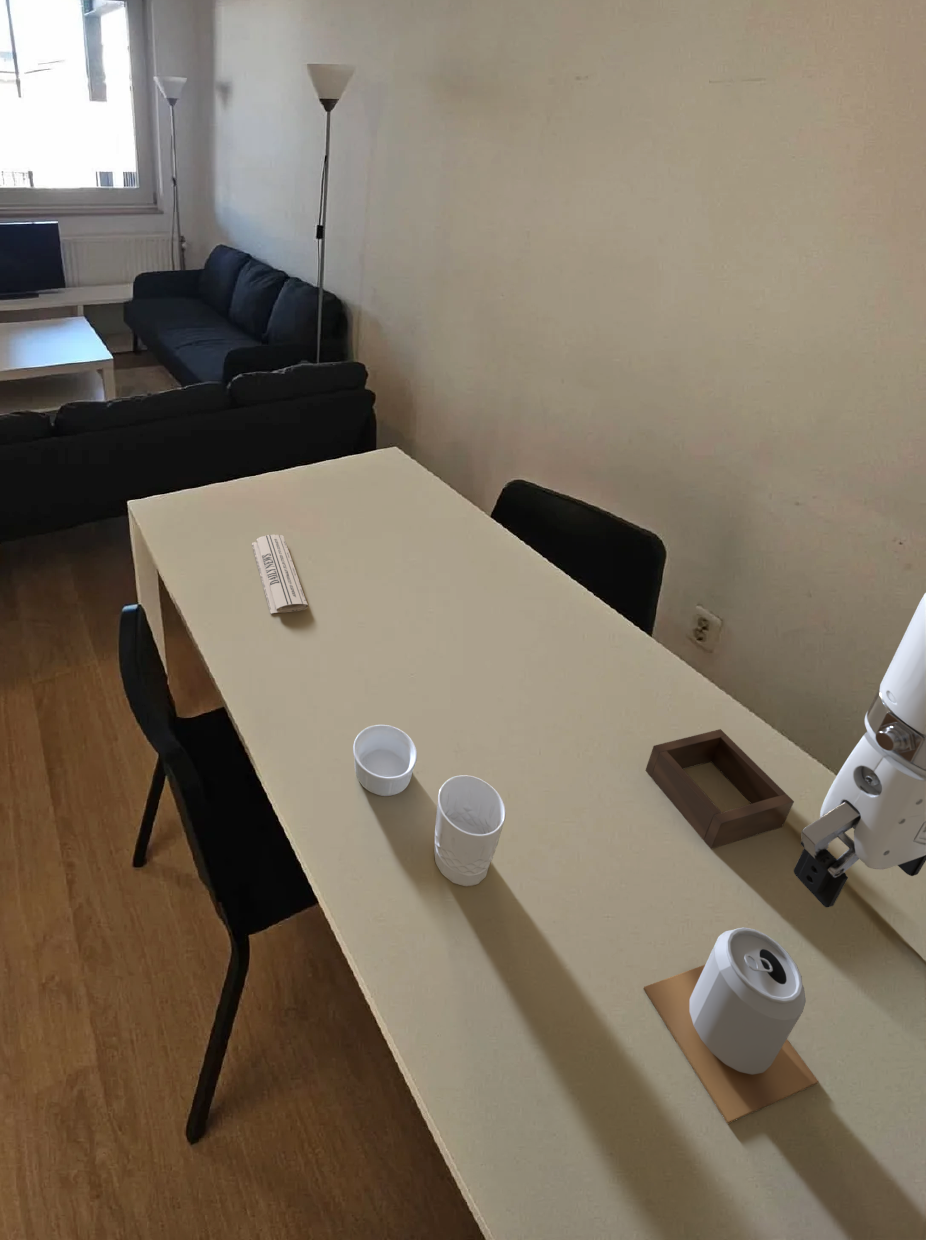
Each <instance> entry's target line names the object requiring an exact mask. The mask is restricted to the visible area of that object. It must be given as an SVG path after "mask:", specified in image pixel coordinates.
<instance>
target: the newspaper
mask: <svg viewBox="0 0 926 1240" xmlns="http://www.w3.org/2000/svg"><path fill="white" fill-rule="evenodd" d="M251 547H252V549H253V554H254V557H255V561H256V566H257V568H258V572H259V576H260V579H261V580H260V581H261V584H262V587H263V591H264V595H265V599H266V602H267V607H268V610H269V614H271V615H273V614H277V613H280V614H281V613H292V612H293V613H294V612H301V611H303V610H306V609H307V608H308V607H309V606H308V605H309V604H308V602H307V599H306V596H305V594H304V590H303V588H302V585H301V581H300V579H299V576H298V573H297V570H296V567H295V565H294V562H293V559H292V557H291V553H290V551H289V548H288V546H287V542H286V539H285V536H284V535H282V534H267V535H262V536H260V537H257V538H256V541H254V542H253V541H252V542H251Z"/></svg>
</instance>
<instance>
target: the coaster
mask: <svg viewBox="0 0 926 1240" xmlns="http://www.w3.org/2000/svg"><path fill="white" fill-rule="evenodd" d="M705 965H706V963H705V964H702V965H700V966H697V967H695V968H691V969H689V970H686V971H683V972H680V973H678V974H675V975H672V976H670V977H667V978H665V979H662V980H659V981H656V982H654V983H651V984H648V985H645V986H643V988H642V989H643V991H644V993H645V994H646V996H647V997H648V998H649V1000H650V1002H651V1004H652V1005H653V1007H654V1008H655V1011H657V1013H658V1015H659V1016H660V1018H661V1020H662V1021H663V1023H664V1025H665V1026H666V1028H667V1029H668V1031H669V1033H670V1034H671V1036H672V1037H673V1039H674V1040H675V1042H676V1044H677V1046H678V1047H679V1048H680V1050H681V1052H682V1054H683V1055H684V1056H685V1058H686V1060H687V1062H688V1063H689V1065H690V1067H691V1068H692V1070H693V1072H694V1073H695V1074H696V1076H697V1077H698V1079H699V1081H700V1082H701V1084H702V1087H704V1089H705V1090H706V1093H707V1094H708V1095H709V1097H710V1099H711V1100H712V1101H713V1103H714V1105H715V1104H716V1105H715V1107H716V1108H717V1109H718V1112H719V1113H720V1115H721V1116H722V1115H723V1116H722V1118H723V1117H724V1118H723V1119H724V1121H725V1122H726V1121H727V1122H726V1124H727V1123H729V1124H731V1123H732V1122H731V1121H733V1122H735V1121H737V1120H736V1119H738V1120H740V1119H742V1118H744V1117H746V1116H749V1115H751V1114H754V1113H755V1112H758V1111H759V1110H762V1109H764V1108H767V1107H768V1106H771V1105H773V1104H775V1103H778V1102H779V1101H782V1100H784V1099H786V1098H788V1097H790V1096H793V1095H795V1094H797V1093H800V1092H802V1091H804V1090H807V1089H808V1088H811V1087H813V1086H815V1085H817V1084H819V1080H818V1079H817V1077H816V1076H815V1074H814V1073H813V1072H812V1071H811V1069H810V1068H809V1067H808V1065H807V1064H806V1062H805V1061H804V1060H803V1058H802V1057H801V1056H800V1054H799V1053H798V1052H797V1050H796V1049H795V1048H794V1047H793V1045H792V1044H791V1043H790V1041H789V1040H788V1038H787V1039H786V1041H785V1043H784V1044H783V1046H782V1048H781V1049H780V1051H779V1053H778V1054H777V1056H776V1058H775V1059H774V1061H773V1063H772V1064H771V1066H770V1067H769V1068H768V1069H767V1070H766V1071H764V1072H763V1073H758V1074H753V1075H752V1074H747V1073H743V1072H739V1071H737V1070H735V1069H733V1068H731V1067H730V1066H728V1065H726V1064H724V1063H723V1062H722V1061H721V1060H720V1059H719V1058H717V1057H716V1056H715V1055H714V1054H713V1053H712V1052H711V1051H710V1050H709V1048H708V1047H707V1046H706V1045H705V1044H704V1042H703V1041H702V1040H701V1038H700V1036H699V1034H698V1033H697V1031H696V1029H695V1027H694V1025H693V1022H692V1018H691V1015H690V997H691V995H692V993H693V990H694V988H695V986H696V984H697V982H698V980H699V977H700V975H701V973H702V971H703V969H704V967H705ZM748 1114H749V1115H748ZM745 1115H746V1116H745ZM743 1116H744V1117H743ZM741 1117H742V1118H741ZM739 1118H740V1119H739ZM734 1120H735V1121H734ZM730 1122H731V1123H730Z"/></svg>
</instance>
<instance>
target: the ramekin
mask: <svg viewBox="0 0 926 1240" xmlns="http://www.w3.org/2000/svg"><path fill="white" fill-rule="evenodd" d="M352 752H353V758H354V772H355V775H356V778H357V780H358V781H359V784H360V785H361V786H362V787H363V788H364V789H365V790H366V791H368V792H370V793H372V794H374V795H377V796H382V797H390V796H395V795H398V794H401V793H402V792H404V791H405V789H406V788H407V787H408V786H409V784H410V782H411V779H412V776H413V772H414V769H415V767H416V764H417V761H418V750H417V748H416V744H415V742H414V740H413V739H412V738H411V737H410V736H409V735H408V734H407V732H405V731H403V730H402V729H400V728H398V727H395V726H393V725H388V724H375V725H374V724H373V725H369V726H367V727H366V728H364V729H362V730H361V731H360V732H359V733H358V734H357V736H356V737H355V739H354V742H353V745H352Z"/></svg>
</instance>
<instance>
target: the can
mask: <svg viewBox="0 0 926 1240" xmlns="http://www.w3.org/2000/svg"><path fill="white" fill-rule="evenodd" d="M714 943H715V944H714V946H713V948H712V949H711V951H710V954H709V956H708V958H707V960H706V963H705V964H706V965H705V964H704V965H705V967H704V969H703V971H702V973H701V975H700V977H699V980H698V982H697V984H696V986H695V988H694V990H693V993H692V995H691V997H690V1015H691V1018H692V1022H693V1025H694V1027H695V1029H696V1031H697V1033H698V1034H699V1036H700V1038H701V1040H702V1041H703V1042H704V1044H705V1045H706V1046H707V1047H708V1048H709V1050H710V1051H711V1052H712V1053H713V1054H714V1055H715V1056H716V1057H717V1058H719V1059H720V1060H721V1061H722V1062H723V1063H724V1064H726V1065H728V1066H730V1067H731V1068H733V1069H735V1070H737V1071H739V1072H743V1073H747V1074H752V1075H753V1074H758V1073H763V1072H764V1071H766V1070H767V1069H768V1068H769V1067H770V1066H771V1064H772V1063H773V1061H774V1059H775V1058H776V1056H777V1054H778V1053H779V1051H780V1049H781V1048H782V1046H783V1044H784V1043H785V1041H786V1039H787V1040H788V1038H789V1036H790V1034H791V1032H792V1031H793V1029H794V1027H795V1026H796V1024H797V1023H798V1021H799V1019H800V1017H801V1016H802V1014H803V1013H804V1010H805V1006H806V1003H807V1000H806V998H807V997H806V992H805V987H804V984H803V978H802V974H801V972H800V969H799V967H798V965H797V963H796V962H795V961H794V959H793V957H792V956H791V955H790V953H788V951H787V950H786V949H785V948H784V947H783V946H782V945H781V944H780V943H779V942H778V941H776V939H774V938H772V937H770V936H769V935H768V934H766V933H764V932H762V931H759V930H757V929H754V928H750V927H737V928H735V929H730V930H725V931H724V932H723V933H721V934H720V935H718V937H717V939H716V941H715V942H714Z"/></svg>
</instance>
